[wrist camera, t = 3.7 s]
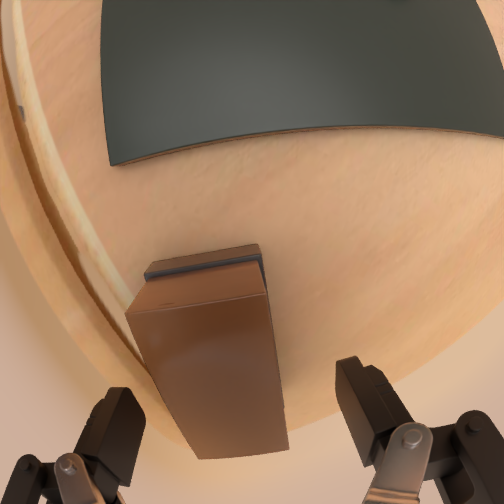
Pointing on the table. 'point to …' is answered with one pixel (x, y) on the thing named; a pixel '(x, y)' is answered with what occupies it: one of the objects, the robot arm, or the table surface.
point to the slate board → (292, 70)
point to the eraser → (213, 351)
